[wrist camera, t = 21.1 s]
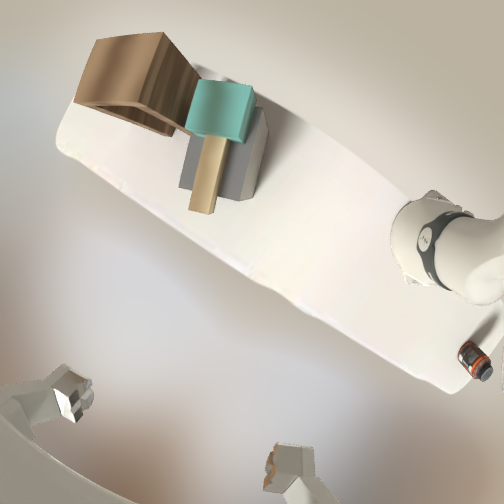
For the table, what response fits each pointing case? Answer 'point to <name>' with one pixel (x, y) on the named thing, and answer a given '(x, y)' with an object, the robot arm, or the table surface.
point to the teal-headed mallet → (217, 134)
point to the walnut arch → (139, 82)
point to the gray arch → (232, 161)
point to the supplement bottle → (475, 361)
